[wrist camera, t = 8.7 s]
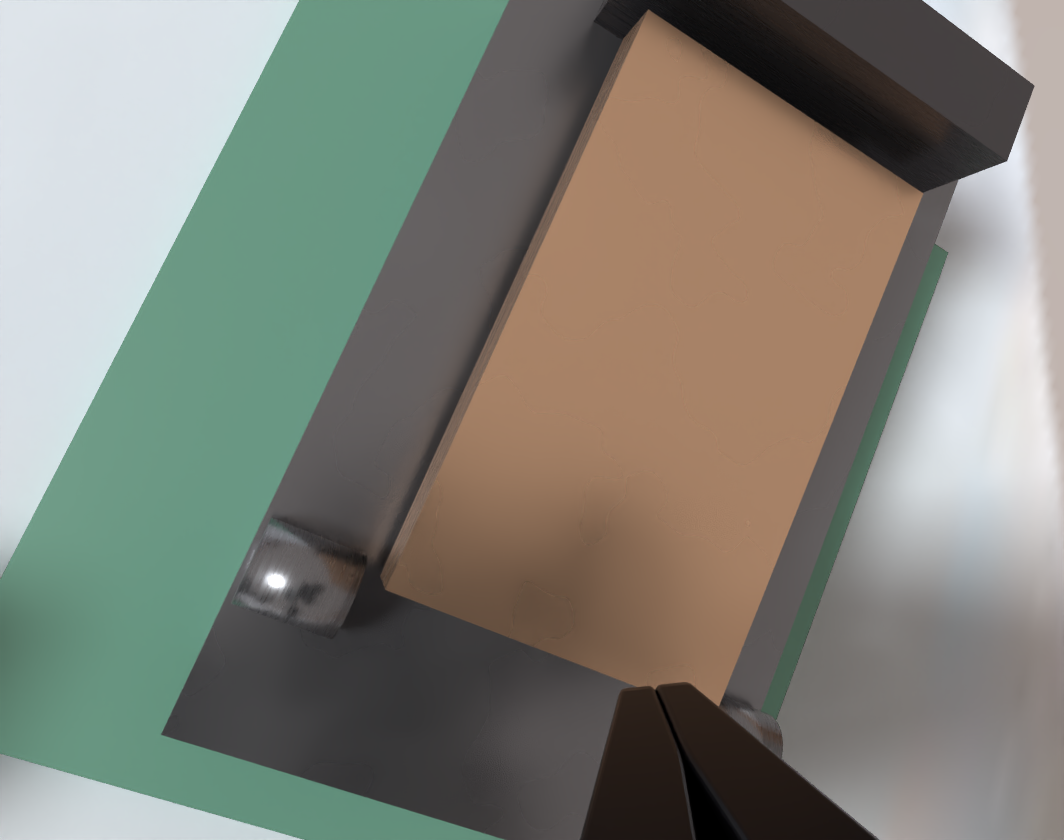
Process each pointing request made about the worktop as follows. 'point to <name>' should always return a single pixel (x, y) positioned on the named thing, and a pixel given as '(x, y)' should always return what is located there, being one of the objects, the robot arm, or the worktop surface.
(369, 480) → the grey open box
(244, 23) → the worktop surface
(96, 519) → the board
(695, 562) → the brown rectangular board
